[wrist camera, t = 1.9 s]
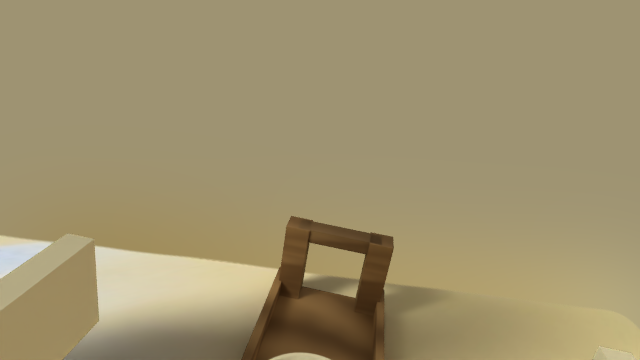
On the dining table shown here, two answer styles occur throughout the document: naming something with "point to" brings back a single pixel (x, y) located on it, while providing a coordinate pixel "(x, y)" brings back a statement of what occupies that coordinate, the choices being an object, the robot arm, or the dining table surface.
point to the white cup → (299, 357)
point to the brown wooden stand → (324, 300)
